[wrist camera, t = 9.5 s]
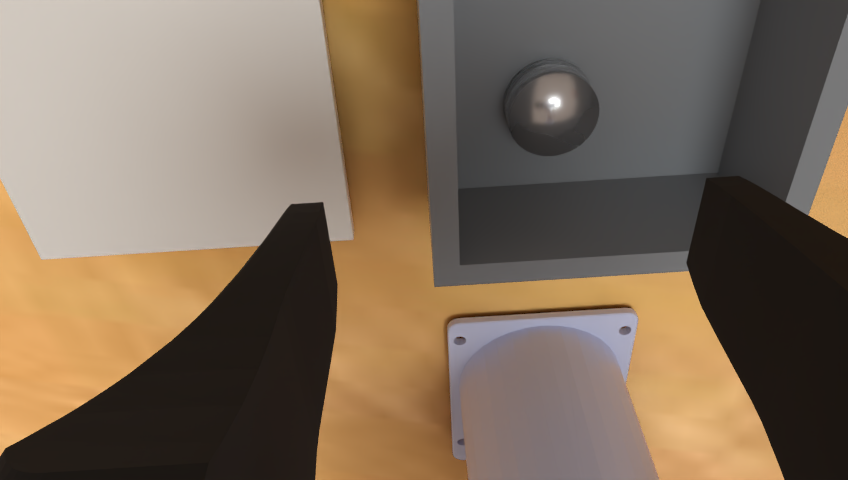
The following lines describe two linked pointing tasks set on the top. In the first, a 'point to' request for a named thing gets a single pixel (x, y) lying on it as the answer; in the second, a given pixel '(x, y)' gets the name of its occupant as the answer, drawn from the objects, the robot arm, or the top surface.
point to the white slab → (167, 122)
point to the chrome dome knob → (550, 107)
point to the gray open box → (620, 126)
